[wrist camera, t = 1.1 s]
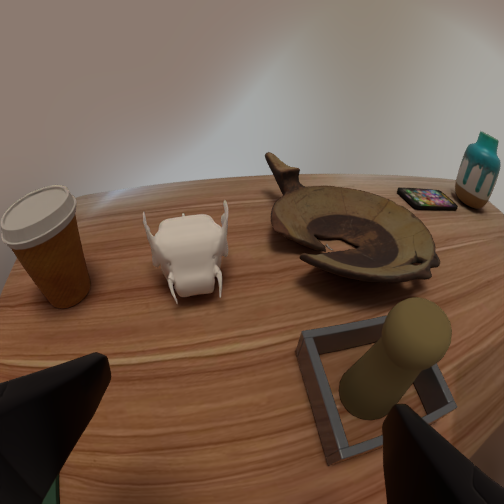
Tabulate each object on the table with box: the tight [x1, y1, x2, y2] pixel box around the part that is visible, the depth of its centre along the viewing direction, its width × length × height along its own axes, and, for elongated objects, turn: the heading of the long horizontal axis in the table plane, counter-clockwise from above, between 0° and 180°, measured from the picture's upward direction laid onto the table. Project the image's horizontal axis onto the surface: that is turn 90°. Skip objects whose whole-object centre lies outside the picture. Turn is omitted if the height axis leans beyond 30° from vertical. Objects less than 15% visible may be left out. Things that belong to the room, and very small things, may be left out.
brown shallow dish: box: [265, 152, 440, 283], centre depth 38 cm, size 22×30×8 cm
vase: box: [455, 132, 500, 209], centre depth 49 cm, size 11×11×19 cm
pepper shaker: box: [339, 297, 452, 420], centre depth 19 cm, size 6×6×11 cm
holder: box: [295, 316, 457, 466], centre depth 21 cm, size 12×12×4 cm
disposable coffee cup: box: [0, 185, 91, 308], centre depth 26 cm, size 10×10×12 cm
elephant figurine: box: [143, 200, 228, 305], centre depth 30 cm, size 10×12×9 cm
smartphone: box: [397, 188, 458, 210], centre depth 53 cm, size 8×1×15 cm
